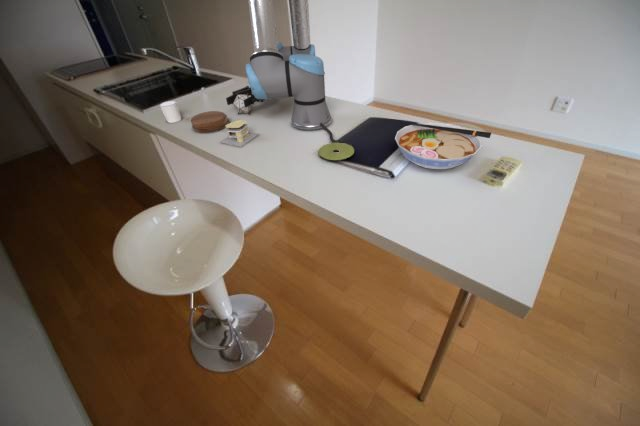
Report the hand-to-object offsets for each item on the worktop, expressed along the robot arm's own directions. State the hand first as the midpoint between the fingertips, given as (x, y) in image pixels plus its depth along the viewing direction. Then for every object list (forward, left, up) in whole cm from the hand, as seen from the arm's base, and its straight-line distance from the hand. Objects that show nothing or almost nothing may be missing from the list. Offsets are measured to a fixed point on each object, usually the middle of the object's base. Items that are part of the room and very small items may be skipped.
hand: (236, 102), depth 116 cm
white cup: (+15, +24, -6) cm, 29 cm away
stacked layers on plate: (-20, +6, -6) cm, 22 cm away
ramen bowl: (-70, -37, -6) cm, 80 cm away
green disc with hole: (-51, -16, -6) cm, 54 cm away
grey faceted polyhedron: (+3, -3, -6) cm, 8 cm away
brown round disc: (-1, +12, -6) cm, 14 cm away
